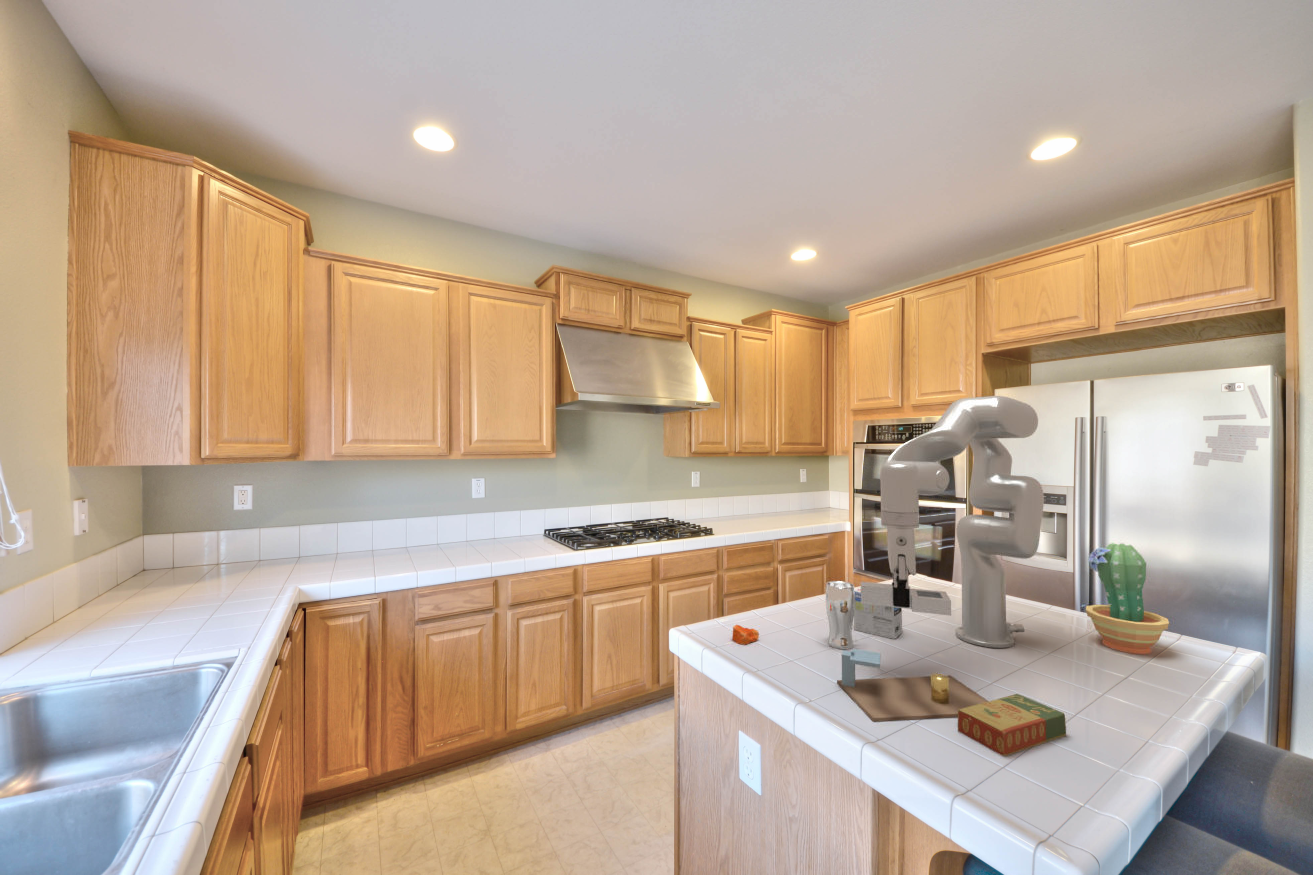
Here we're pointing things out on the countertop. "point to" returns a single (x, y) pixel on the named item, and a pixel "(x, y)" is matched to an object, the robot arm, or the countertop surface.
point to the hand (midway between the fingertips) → (900, 602)
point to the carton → (1011, 724)
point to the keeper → (857, 663)
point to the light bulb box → (877, 618)
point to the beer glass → (840, 613)
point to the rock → (744, 635)
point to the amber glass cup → (939, 688)
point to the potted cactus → (1124, 601)
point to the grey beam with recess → (918, 598)
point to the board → (908, 698)
